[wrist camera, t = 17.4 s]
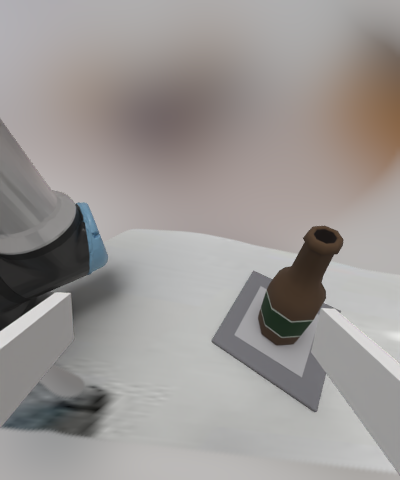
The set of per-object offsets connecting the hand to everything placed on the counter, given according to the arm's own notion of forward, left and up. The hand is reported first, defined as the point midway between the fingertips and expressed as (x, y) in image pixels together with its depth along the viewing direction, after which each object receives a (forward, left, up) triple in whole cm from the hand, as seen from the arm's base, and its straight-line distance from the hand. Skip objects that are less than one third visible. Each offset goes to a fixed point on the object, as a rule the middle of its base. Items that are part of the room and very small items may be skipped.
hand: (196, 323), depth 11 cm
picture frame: (+4, +16, -30) cm, 35 cm away
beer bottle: (+5, +16, -29) cm, 34 cm away
